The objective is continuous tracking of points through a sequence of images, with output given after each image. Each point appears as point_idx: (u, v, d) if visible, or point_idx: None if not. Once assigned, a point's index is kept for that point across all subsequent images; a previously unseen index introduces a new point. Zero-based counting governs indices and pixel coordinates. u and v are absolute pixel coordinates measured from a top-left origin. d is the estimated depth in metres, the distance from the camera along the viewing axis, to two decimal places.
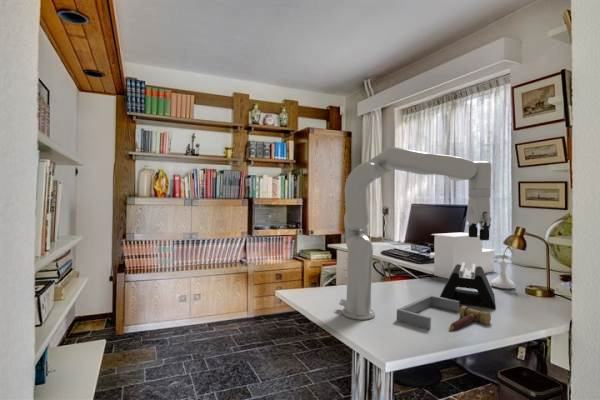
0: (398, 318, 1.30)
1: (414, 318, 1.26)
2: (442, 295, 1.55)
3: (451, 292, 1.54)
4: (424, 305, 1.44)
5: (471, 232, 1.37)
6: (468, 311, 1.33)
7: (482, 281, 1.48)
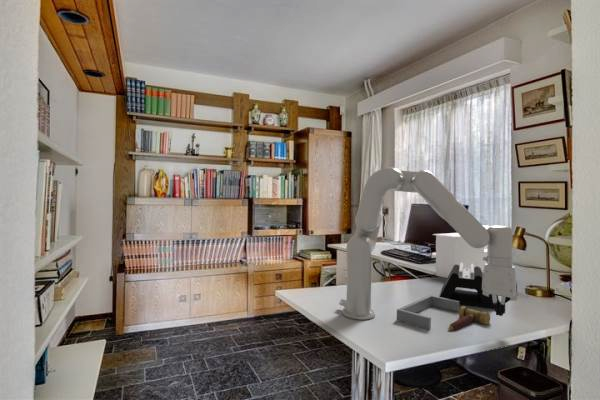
0: (398, 318, 1.30)
1: (414, 318, 1.26)
2: (441, 296, 1.54)
3: (450, 293, 1.53)
4: (424, 305, 1.44)
5: None
6: (467, 311, 1.33)
7: None
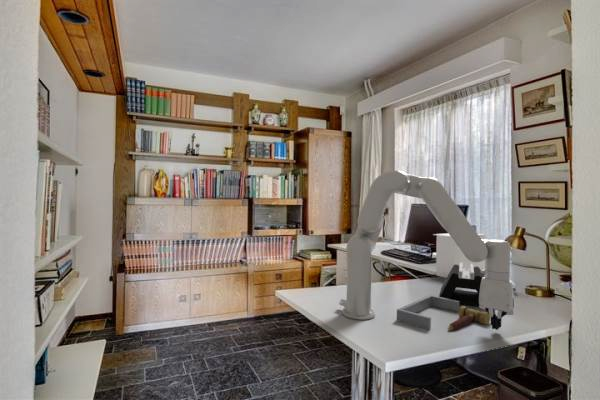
0: (398, 318, 1.30)
1: (414, 318, 1.26)
2: (441, 296, 1.54)
3: (450, 293, 1.52)
4: (424, 305, 1.44)
5: None
6: (467, 311, 1.33)
7: None
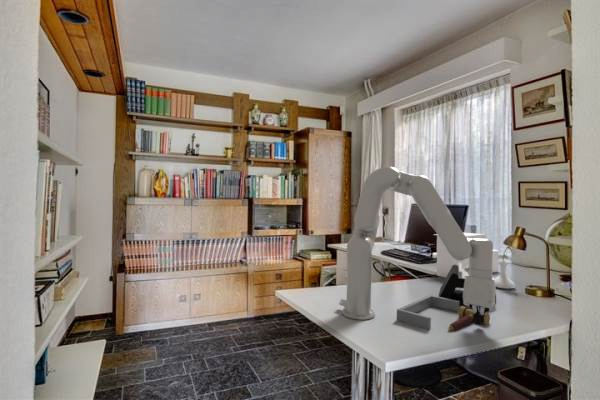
0: (398, 318, 1.30)
1: (414, 318, 1.26)
2: (441, 296, 1.54)
3: (450, 293, 1.52)
4: (424, 305, 1.44)
5: None
6: (467, 311, 1.32)
7: None
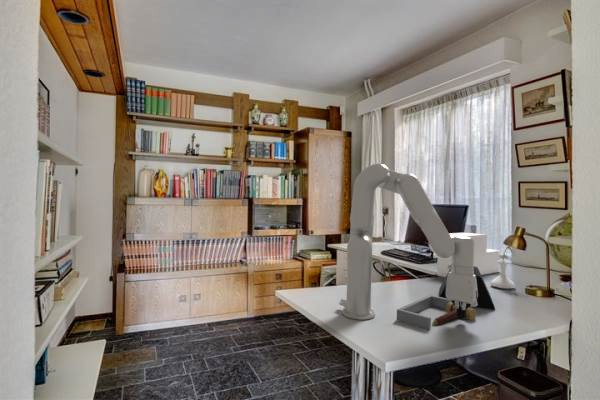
0: (398, 318, 1.30)
1: (414, 318, 1.26)
2: (441, 296, 1.53)
3: None
4: (424, 305, 1.44)
5: None
6: (454, 307, 1.37)
7: (481, 282, 1.47)
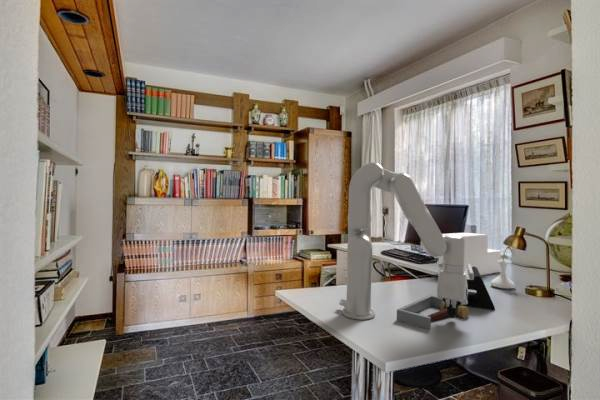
0: (398, 318, 1.30)
1: (414, 318, 1.26)
2: None
3: None
4: (424, 305, 1.44)
5: None
6: None
7: (481, 282, 1.46)
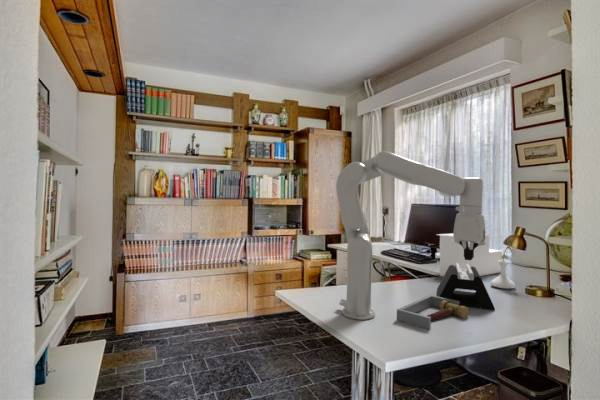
0: (398, 318, 1.30)
1: (414, 318, 1.26)
2: None
3: (449, 294, 1.51)
4: (424, 305, 1.44)
5: None
6: (447, 305, 1.40)
7: (481, 282, 1.46)
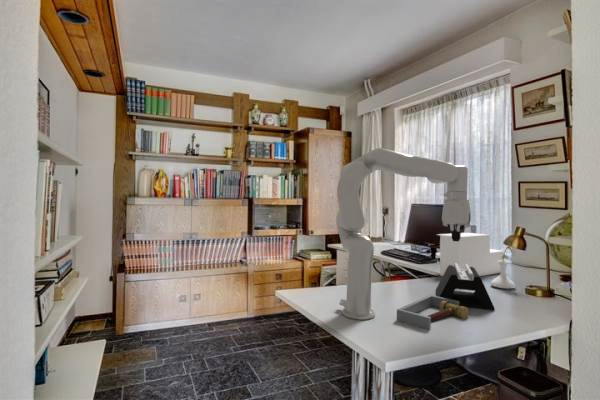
0: (398, 318, 1.30)
1: (414, 318, 1.26)
2: None
3: (449, 295, 1.50)
4: (424, 305, 1.44)
5: None
6: (447, 305, 1.39)
7: (481, 282, 1.46)
